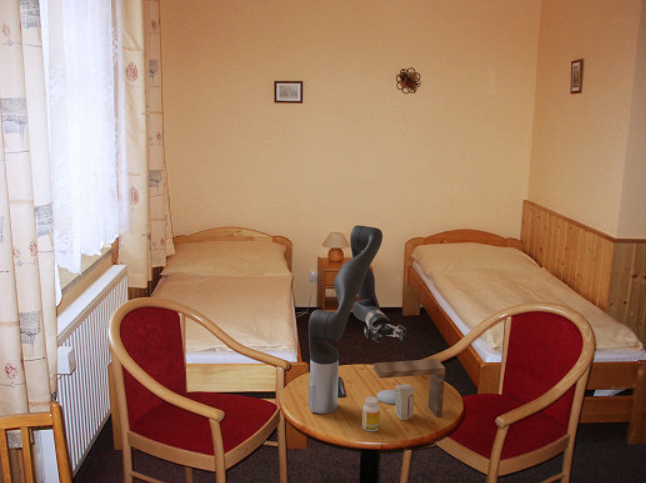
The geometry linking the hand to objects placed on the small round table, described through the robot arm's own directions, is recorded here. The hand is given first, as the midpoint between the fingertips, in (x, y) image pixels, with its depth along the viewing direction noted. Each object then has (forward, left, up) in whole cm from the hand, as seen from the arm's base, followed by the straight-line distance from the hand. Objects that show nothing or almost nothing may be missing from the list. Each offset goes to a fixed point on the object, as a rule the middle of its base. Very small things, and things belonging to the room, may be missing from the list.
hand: (391, 339), depth 210 cm
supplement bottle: (-13, -21, -20) cm, 32 cm away
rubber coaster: (0, -3, -20) cm, 20 cm away
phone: (-18, +8, -21) cm, 29 cm away
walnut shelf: (+1, -15, -20) cm, 25 cm away
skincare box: (0, -16, -20) cm, 26 cm away
